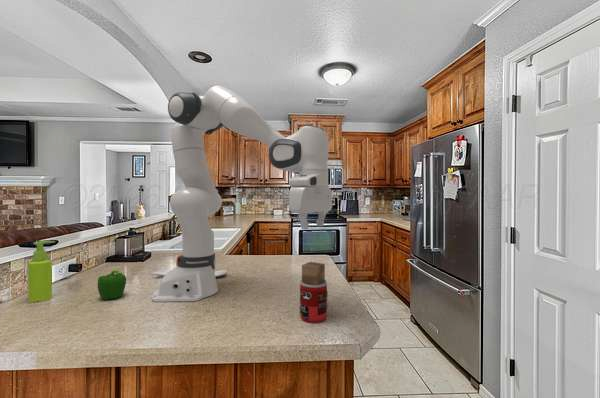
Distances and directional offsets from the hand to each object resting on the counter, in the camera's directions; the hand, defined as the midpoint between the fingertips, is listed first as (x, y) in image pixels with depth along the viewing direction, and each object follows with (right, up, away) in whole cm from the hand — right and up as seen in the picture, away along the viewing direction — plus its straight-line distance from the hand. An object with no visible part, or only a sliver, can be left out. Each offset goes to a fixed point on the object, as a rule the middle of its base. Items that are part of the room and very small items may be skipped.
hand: (312, 227), depth 82 cm
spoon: (-53, -27, +41) cm, 72 cm away
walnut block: (0, -16, 0) cm, 16 cm away
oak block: (+2, -27, +10) cm, 29 cm away
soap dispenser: (-94, -27, +14) cm, 98 cm away
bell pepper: (-70, -27, +15) cm, 77 cm away
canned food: (0, -27, 0) cm, 27 cm away
